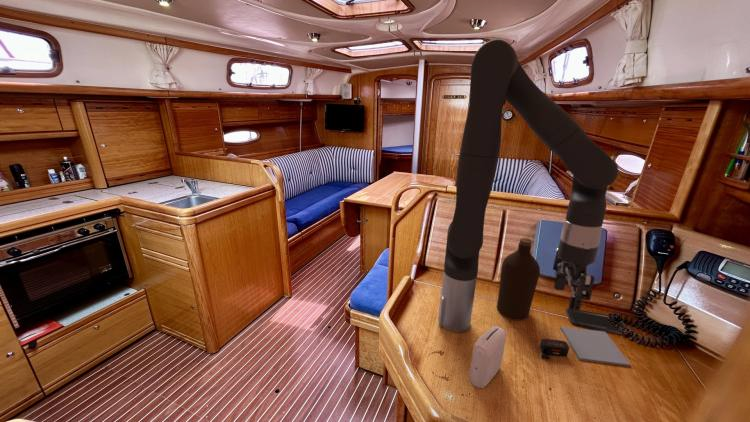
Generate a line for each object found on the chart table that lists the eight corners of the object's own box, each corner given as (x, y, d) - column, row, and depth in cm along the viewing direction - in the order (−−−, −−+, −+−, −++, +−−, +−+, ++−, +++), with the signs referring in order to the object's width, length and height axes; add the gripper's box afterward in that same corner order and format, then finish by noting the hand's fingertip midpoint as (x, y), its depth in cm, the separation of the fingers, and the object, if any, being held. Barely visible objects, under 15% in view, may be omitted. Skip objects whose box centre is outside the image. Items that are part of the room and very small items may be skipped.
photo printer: (482, 392, 69) (490, 350, 65) (466, 380, 72) (472, 339, 68) (502, 367, 76) (510, 327, 72) (486, 357, 79) (493, 318, 75)
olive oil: (520, 326, 90) (536, 251, 82) (488, 309, 98) (499, 238, 90) (536, 312, 96) (552, 241, 88) (505, 296, 104) (517, 230, 96)
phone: (565, 307, 98) (620, 317, 94) (564, 310, 98) (619, 320, 94) (572, 322, 91) (631, 334, 86) (571, 325, 91) (630, 337, 87)
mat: (578, 359, 79) (579, 357, 78) (560, 328, 90) (560, 326, 90) (630, 366, 77) (630, 364, 76) (604, 333, 88) (605, 331, 88)
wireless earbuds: (535, 347, 83) (537, 337, 82) (563, 350, 82) (565, 341, 81) (541, 360, 78) (543, 350, 77) (570, 364, 77) (573, 354, 76)
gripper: (550, 227, 77) (539, 282, 83) (576, 252, 64) (561, 316, 69) (582, 229, 76) (569, 284, 81) (615, 254, 63) (597, 319, 68)
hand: (566, 299), depth 75 cm, fingers open, 8 cm apart
